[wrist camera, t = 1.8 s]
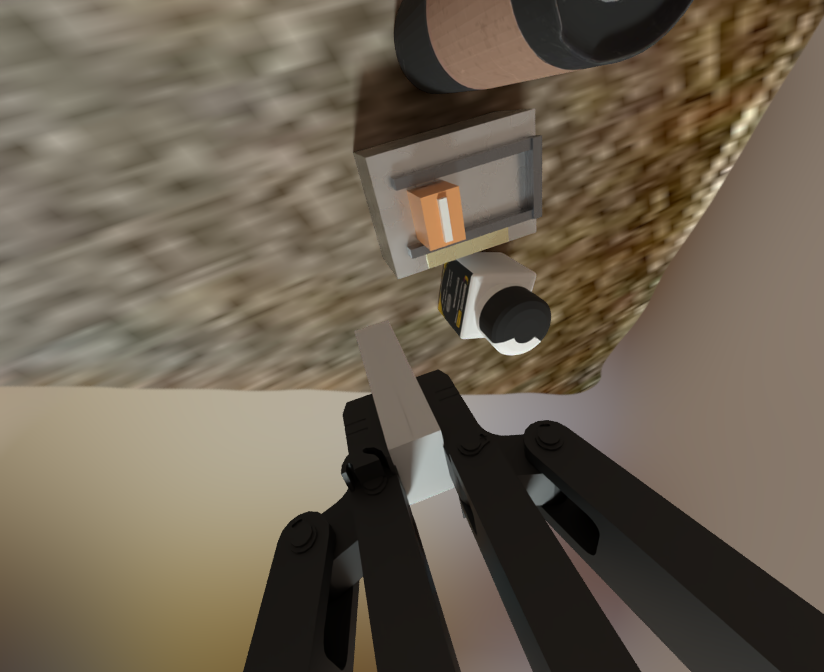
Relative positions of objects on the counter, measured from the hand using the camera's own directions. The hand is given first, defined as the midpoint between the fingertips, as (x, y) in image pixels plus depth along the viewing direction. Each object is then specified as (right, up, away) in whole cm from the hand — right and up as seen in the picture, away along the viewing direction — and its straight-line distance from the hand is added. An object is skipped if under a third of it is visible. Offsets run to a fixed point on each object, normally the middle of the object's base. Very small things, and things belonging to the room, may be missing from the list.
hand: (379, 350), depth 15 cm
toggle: (+3, +11, +13) cm, 17 cm away
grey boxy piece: (+4, +15, +19) cm, 24 cm away
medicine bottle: (+8, +7, +25) cm, 27 cm away
